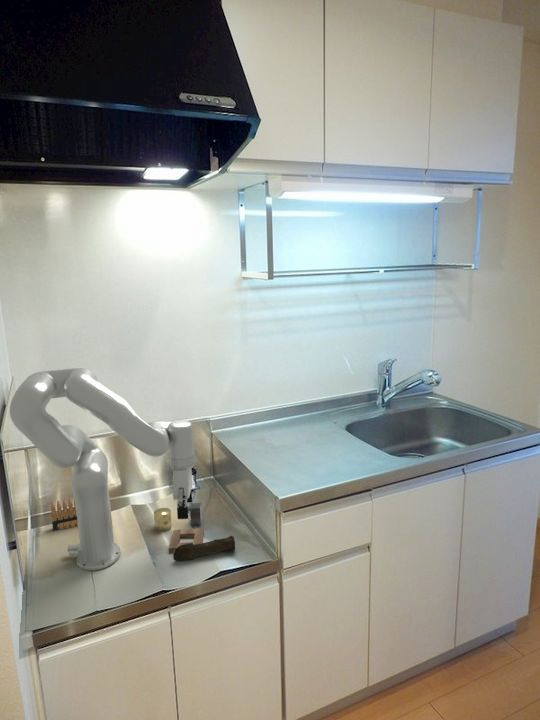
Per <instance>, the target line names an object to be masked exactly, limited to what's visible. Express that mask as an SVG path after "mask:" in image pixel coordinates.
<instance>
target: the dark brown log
mask: <svg viewBox="0 0 540 720" xmlns="http://www.w3.org/2000/svg"><path fill="white" fill-rule="evenodd" d="M228 550H233V551H235V550H236V540H235V536H233V535H229V536H228V537H223V538H219V539H217V538H216V539H212V540H210V541H207V542H203V543H201V544H194V545H193V543H189V544H184V545H181V546H178V548H176V550H175V552H174V553H173V555H172V556H173V561H176V562H178V561H181V562H182V561H191V560H194V558H196V557H200V556H205V555H209V554H213V553H218V552H223V551H228Z"/></svg>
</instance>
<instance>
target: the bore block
mask: <svg viewBox="0 0 540 720" xmlns="http://www.w3.org/2000/svg"><path fill="white" fill-rule="evenodd" d="M204 535H205V529H204V527H202V528H201V527H200V528H199V527H198V528H185V529H183V528H182V529H172V533H171V537H170V542H169V545H168V553H169V554H171V553H172V554H174V552H175V550H176V548H178V546H181V545H184V544H189V543H193V545H194V544H201V543H204V542H203V541H204ZM190 538H191V539H192V538H193V541H190V542H189V541H186V542H181V539H190Z"/></svg>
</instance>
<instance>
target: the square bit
mask: <svg viewBox="0 0 540 720" xmlns="http://www.w3.org/2000/svg"><path fill="white" fill-rule="evenodd" d="M189 512H190V514H189V515H190V516H189V517H190V526H202V522H203V521H202V520H203V517H202V503H201V502H195V503H194V502H193V503H192V502H191V503H190V506H189Z"/></svg>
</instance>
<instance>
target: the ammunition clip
mask: <svg viewBox="0 0 540 720" xmlns="http://www.w3.org/2000/svg"><path fill="white" fill-rule="evenodd" d="M67 502H68V504H67ZM67 502H66V499H65V498H63V500H62V506H61V502H60V500H59V499H57V502H56V505H55V502H54V501H53V500H52V501H51V504H50V509H51V510H50V515H51V516H50V517H51V521H52V522H51V524H52V531H53V532H55V531H58V530H63V529H68V528H70V527H71V528H74V527H78V521H77V514H76V506H75V500H74V499H73V502H72V499H71V497H69V498H68V501H67ZM67 505H68V506H67Z"/></svg>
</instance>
